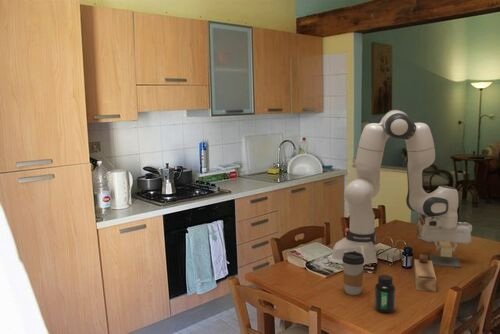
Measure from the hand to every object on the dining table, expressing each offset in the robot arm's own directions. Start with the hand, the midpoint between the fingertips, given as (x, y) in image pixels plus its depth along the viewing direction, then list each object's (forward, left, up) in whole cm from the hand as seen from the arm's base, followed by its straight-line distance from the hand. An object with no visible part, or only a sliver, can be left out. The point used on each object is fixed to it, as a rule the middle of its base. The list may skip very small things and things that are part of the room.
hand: (445, 250), depth 192 cm
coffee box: (-5, +30, -5) cm, 31 cm away
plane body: (-10, -24, -5) cm, 26 cm away
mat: (0, 0, -5) cm, 5 cm away
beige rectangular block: (0, 0, -1) cm, 1 cm away
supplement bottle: (-25, -53, -5) cm, 59 cm away
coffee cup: (-37, -42, -5) cm, 56 cm away
